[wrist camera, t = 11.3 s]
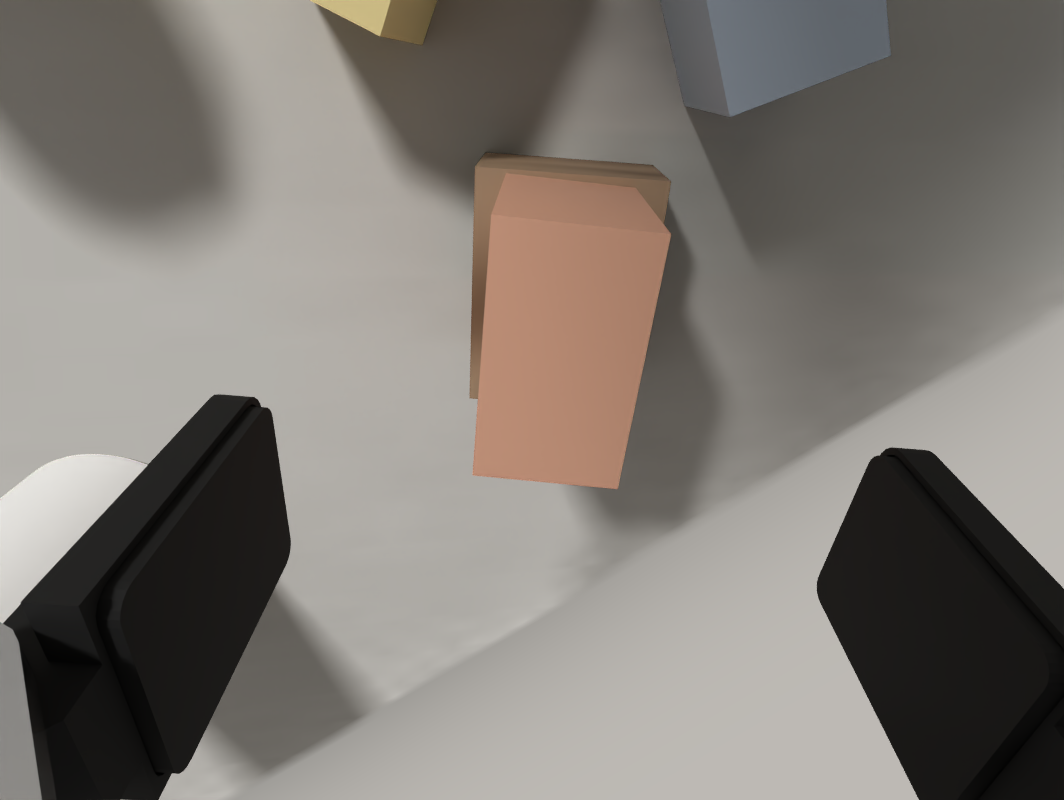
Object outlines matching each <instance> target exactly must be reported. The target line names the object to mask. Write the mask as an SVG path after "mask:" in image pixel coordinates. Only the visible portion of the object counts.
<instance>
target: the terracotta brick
mask: <svg viewBox="0 0 1064 800" xmlns="http://www.w3.org/2000/svg"><path fill="white" fill-rule="evenodd" d="M670 238H671V233H670V232H669V231H668V229H667V228H666V227H665V226H664V224H663V223H662V222H661V220H660V219H659V218H658V216H657V215H656V214H655V212H654V211H653V210H652V208H651V207H650V206H649V204H648V203H647V202H646V200H645V199H644V198H643V197H642V195H641V194H640V193H639V191H638V190H637V189H636V188H634V187H625V186H616V185H607V184H598V183H589V182H580V181H572V180H563V179H554V178H545V177H536V176H527V175H518V174H509V173H506V175H505V177H504V180H503V183H502V186H501V189H500V191H499V194H498V197H497V200H496V202H495V205H494V208H493V211H492V214H491V224H490V238H489V252H488V266H487V280H486V294H485V308H484V322H483V336H482V350H481V365H480V379H479V393H478V407H477V421H476V435H475V449H474V463H473V475H475V476H486V477H496V478H506V479H517V480H527V481H538V482H548V483H559V484H569V485H580V486H590V487H601V488H611V489H618V485H619V480H620V476H621V471H622V466H623V461H624V457H625V452H626V447H627V442H628V437H629V433H630V428H631V423H632V418H633V414H634V409H635V404H636V399H637V395H638V390H639V385H640V380H641V376H642V371H643V366H644V361H645V357H646V352H647V347H648V342H649V338H650V333H651V328H652V323H653V319H654V314H655V309H656V304H657V300H658V295H659V290H660V285H661V281H662V276H663V271H664V266H665V262H666V257H667V252H668V247H669V243H670Z"/></svg>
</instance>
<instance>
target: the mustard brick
mask: <svg viewBox="0 0 1064 800" xmlns="http://www.w3.org/2000/svg"><path fill="white" fill-rule="evenodd" d="M310 1H312V2H314V3H316V4H318V5H320V6H322V7H324V8H326V9H328V10H330V11H332V12H333V13H335V14H337V15H339V16H341V17H343V18H345V19H347V20H349V21H351V22H353V23H355V24H357V25H359V26H361V27H363V28H365V29H367V30H369V31H370V32H372V33H374V34H376V35H378V36H381V37H385V38H390V39H395V40H400V41H405V42H410V43H415V44H419V45H423V42H424V39H425V36H426V33H427V30H428V27H429V24H430V21H431V18H432V15H433V12H434V9H435V6H436V3H437V0H310Z"/></svg>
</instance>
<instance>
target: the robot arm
mask: <svg viewBox="0 0 1064 800" xmlns="http://www.w3.org/2000/svg"><path fill="white" fill-rule="evenodd" d="M290 546H291V540H290V532H289V525H288V519H287V512H286V505H285V498H284V492H283V485H282V478H281V471H280V464H279V458H278V451H277V444H276V437H275V430H274V424H273V417H272V413H271V411H270V409H268V408H264V407H261V405H260V403H259V401H258V399H256V398H255V397H245V396H232V395H219V394H218V395H214V396H212V397H211V398H210V399H209V400H208V401H207V402H206V403H205V404H204V405H203V406H202V407H201V408H200V410H199V411H198V412H197V413H196V414H195V415H194V416H193V417H192V418H191V419H190V420H189V421H188V422H187V424H186V425H185V426H184V427H183V428H182V429H181V430H180V431H179V432H178V433H177V434H176V435H175V436H174V438H173V439H172V440H171V441H170V442H169V443H168V444H167V445H166V446H165V447H164V448H163V449H162V450H161V451H160V453H159V454H158V455H157V456H156V457H155V458H154V459H153V460H152V461H151V462H150V463H149V464H148V465H147V467H146V468H145V469H144V470H143V471H142V472H141V473H140V474H139V475H138V476H137V477H136V478H135V479H134V481H133V482H132V483H131V484H130V485H129V486H128V487H127V488H126V489H125V490H124V491H123V492H122V493H121V495H120V496H119V497H118V498H117V499H116V500H115V501H114V502H113V503H112V504H111V505H110V506H109V507H108V508H107V510H106V511H105V512H104V513H103V514H102V515H101V516H100V517H99V518H98V519H97V520H96V521H95V522H94V524H93V525H92V526H91V527H90V528H89V529H88V530H87V531H86V532H85V533H84V534H83V535H82V536H81V538H80V539H79V540H78V541H77V542H76V543H75V544H74V545H73V546H72V547H71V548H70V549H69V550H68V551H67V553H66V554H65V555H64V556H63V557H62V558H61V559H60V560H59V561H58V562H57V563H56V564H55V565H54V567H53V568H52V569H51V570H50V571H49V572H48V573H47V574H46V575H45V576H44V577H43V578H42V579H41V581H40V582H39V583H38V584H37V585H36V586H35V587H34V588H33V589H32V590H31V591H30V592H29V593H28V595H27V596H26V597H25V598H24V599H23V600H22V601H21V602H20V603H21V604H20V605H19V606H18V608H17V609H16V610H15V611H14V612H13V613H12V614H11V615H10V616H9V617H8V618H7V619H6V620H5V622H4V623H3V624H2V623H1V622H0V800H120V799H128V800H158V799H159V798H160V796H161V794H162V792H163V790H164V788H165V786H166V784H167V782H168V780H169V778H170V776H171V774H172V773H176V774H179V773H181V772H182V771H184V769H185V768H186V767H187V766H188V764H189V762H190V760H191V759H192V757H193V755H194V753H195V751H196V748H197V746H198V744H199V742H200V740H201V738H202V736H203V734H204V732H205V730H206V728H207V726H208V724H209V722H210V720H211V718H212V716H213V714H214V712H215V709H216V707H217V705H218V703H219V701H220V699H221V697H222V695H223V693H224V691H225V689H226V687H227V685H228V683H229V681H230V679H231V677H232V675H233V673H234V670H235V668H236V666H237V664H238V662H239V660H240V658H241V656H242V654H243V652H244V650H245V648H246V646H247V644H248V642H249V640H250V638H251V636H252V634H253V631H254V629H255V627H256V625H257V623H258V621H259V619H260V617H261V615H262V613H263V611H264V609H265V607H266V605H267V603H268V601H269V599H270V597H271V595H272V593H273V590H274V588H275V586H276V584H277V582H278V580H279V578H280V576H281V574H282V572H283V570H284V568H285V566H286V564H287V561H288V558H289V554H290ZM817 594H818V598H819V600H820V603H821V605H822V607H823V609H824V611H825V613H826V615H827V617H828V619H829V621H830V623H831V625H832V627H833V629H834V631H835V633H836V635H837V637H838V639H839V641H840V643H841V645H842V647H843V649H844V651H845V653H846V655H847V657H848V659H849V661H850V663H851V665H852V667H853V669H854V671H855V673H856V675H857V677H858V679H859V681H860V683H861V685H862V687H863V689H864V691H865V693H866V695H867V697H868V699H869V701H870V703H871V705H872V707H873V709H874V711H875V713H876V715H877V717H878V718H879V720H880V723H881V724H882V727H883V728H884V731H885V733H886V735H887V737H888V739H889V741H890V743H891V745H892V747H893V749H894V751H895V753H896V755H897V757H898V759H899V760H900V763H901V765H902V767H903V768H904V771H905V773H906V775H907V777H908V779H909V781H910V783H911V785H912V786H913V789H914V791H915V792H916V795H917V797H918V798H919V800H1064V589H1063V588H1062V586H1061V585H1060V584H1059V583H1058V582H1057V581H1056V580H1055V579H1054V578H1053V577H1052V576H1051V575H1050V574H1049V573H1048V572H1047V571H1046V570H1045V569H1044V568H1043V567H1042V566H1041V565H1040V564H1039V563H1038V561H1037V560H1036V559H1035V558H1034V557H1033V556H1032V555H1031V554H1030V553H1029V552H1028V551H1027V550H1026V549H1025V548H1024V547H1023V546H1022V545H1021V544H1020V543H1019V542H1018V541H1017V540H1016V539H1015V538H1014V536H1013V535H1012V534H1011V533H1010V532H1009V531H1008V530H1007V529H1006V528H1005V527H1004V526H1003V525H1002V524H1001V523H1000V522H999V521H998V520H997V519H996V518H995V517H994V516H993V515H992V514H991V513H990V512H989V510H987V508H986V507H985V506H984V505H983V504H982V503H981V502H980V501H979V500H978V499H977V498H976V497H975V496H974V495H973V494H972V493H971V492H970V491H969V490H968V489H967V487H966V486H965V485H963V483H962V482H961V481H960V480H959V479H958V478H957V477H956V476H955V475H954V474H953V473H952V472H951V471H950V470H949V469H948V468H947V467H946V466H945V465H944V464H943V462H942V461H940V459H939V458H938V457H937V456H936V455H935V454H933V453H932V452H930V451H926V450H916V449H902V448H888V449H886V450H885V451H883V453H881V455H880V456H876V457H874V458H872V459H871V461H870V462H869V464H868V466H867V469H866V471H865V473H864V475H863V477H862V480H861V482H860V484H859V487H858V489H857V491H856V493H855V496H854V498H853V500H852V502H851V505H850V507H849V509H848V511H847V514H846V516H845V518H844V521H843V523H842V525H841V527H840V529H839V532H838V534H837V536H836V538H835V541H834V543H833V545H832V548H831V550H830V552H829V554H828V557H827V559H826V561H825V563H824V566H823V568H822V570H821V572H820V575H819V577H818V581H817Z"/></svg>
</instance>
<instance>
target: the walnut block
mask: <svg viewBox="0 0 1064 800" xmlns="http://www.w3.org/2000/svg"><path fill="white" fill-rule="evenodd" d="M506 173H509V174H518V175H527V176H536V177H545V178H554V179H563V180H572V181H580V182H589V183H598V184H607V185H616V186H625V187H634V188H636V189H637V190H638V191H639V193H640V194H641V195H642V197H643V198H644V199H645V200H646V202H647V203H648V204H649V206H650V207H651V208H652V210H653V211H654V212H655V214H656V215H657V216H658V218H659V219H660V220H661V222H662V223H663V224H664V221H665V215H666V209H667V203H668V197H669V191H670V185H671V181H670V180H669V179H668V178H667V177H665V176H664V175H663V174H662V173H661V172H660V171H659V170H658V169H656V168H655V167H654V166H653V165H645V164H632V163H619V162H606V161H592V160H579V159H566V158H553V157H539V156H526V155H513V154H500V153H487V152H486V153H485V154H484V155H483V157H482V158H481V159H480V161H479V162H478V163H477V165H476V166H475V188H474V231H473V273H472V316H471V359H470V398H473V399H478V393H479V379H480V365H481V350H482V336H483V322H484V308H485V294H486V280H487V266H488V252H489V238H490V224H491V214H492V211H493V208H494V205H495V202H496V200H497V197H498V194H499V191H500V189H501V186H502V183H503V180H504V177H505V175H506Z"/></svg>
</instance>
